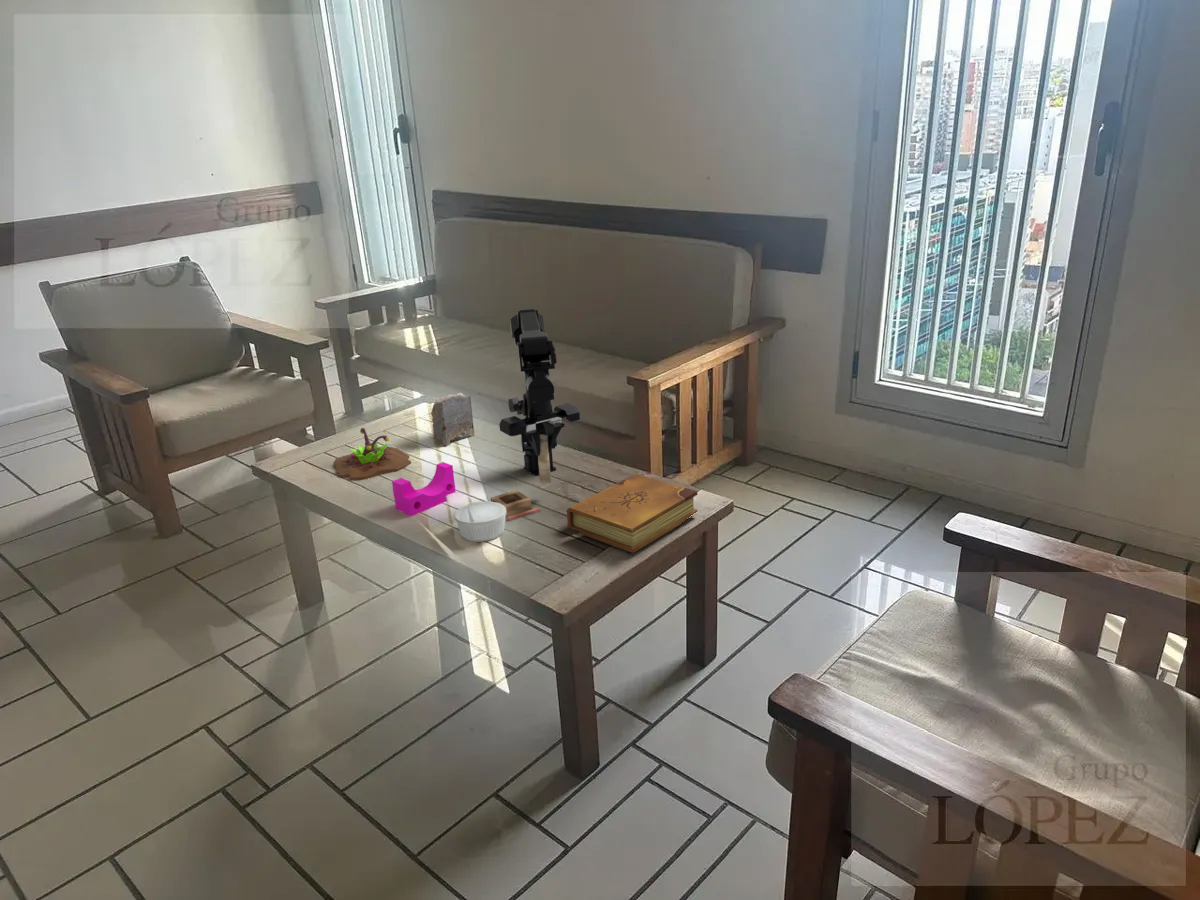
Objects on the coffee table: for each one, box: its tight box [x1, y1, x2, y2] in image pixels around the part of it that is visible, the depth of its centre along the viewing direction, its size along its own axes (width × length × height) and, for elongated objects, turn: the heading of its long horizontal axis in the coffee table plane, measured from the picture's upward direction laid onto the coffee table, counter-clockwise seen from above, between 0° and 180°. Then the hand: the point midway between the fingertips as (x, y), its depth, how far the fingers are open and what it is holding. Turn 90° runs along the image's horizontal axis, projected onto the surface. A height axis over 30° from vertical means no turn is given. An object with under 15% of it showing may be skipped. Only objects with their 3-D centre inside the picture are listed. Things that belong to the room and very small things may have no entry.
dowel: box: [538, 434, 552, 485], centre depth 199 cm, size 3×3×12 cm
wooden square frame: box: [489, 489, 541, 521], centre depth 197 cm, size 8×9×2 cm
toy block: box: [391, 461, 457, 517], centre depth 203 cm, size 15×6×8 cm, turn 137°
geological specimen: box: [430, 392, 475, 447], centre depth 239 cm, size 11×6×15 cm, turn 138°
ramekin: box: [454, 501, 506, 543], centre depth 186 cm, size 11×11×5 cm
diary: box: [566, 473, 698, 554], centre depth 188 cm, size 23×19×6 cm
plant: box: [334, 427, 412, 481], centre depth 226 cm, size 20×20×11 cm
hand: (543, 454), depth 199 cm, fingers closed on dowel, 3 cm apart
